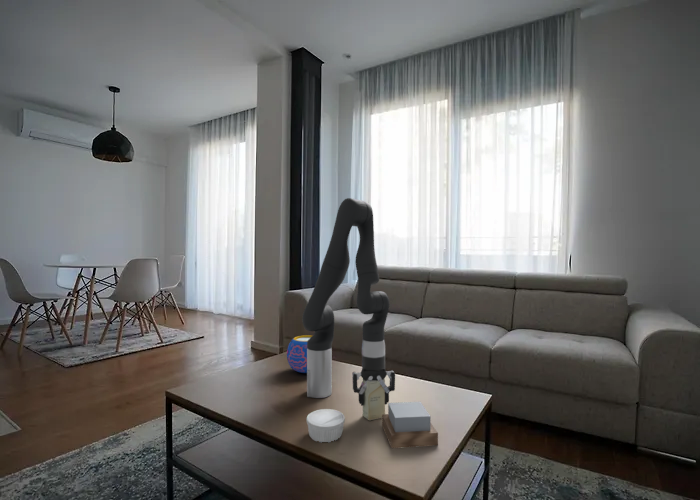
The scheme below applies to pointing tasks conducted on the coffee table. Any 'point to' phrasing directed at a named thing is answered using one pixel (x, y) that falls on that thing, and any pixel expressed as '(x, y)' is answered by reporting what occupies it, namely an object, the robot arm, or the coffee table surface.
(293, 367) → the ceramic pot
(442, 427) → the coffee table surface
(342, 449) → the coffee table surface
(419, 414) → the slate top block
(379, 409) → the skincare box
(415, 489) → the coffee table surface
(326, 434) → the ramekin
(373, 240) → the robot arm
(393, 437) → the walnut base block
